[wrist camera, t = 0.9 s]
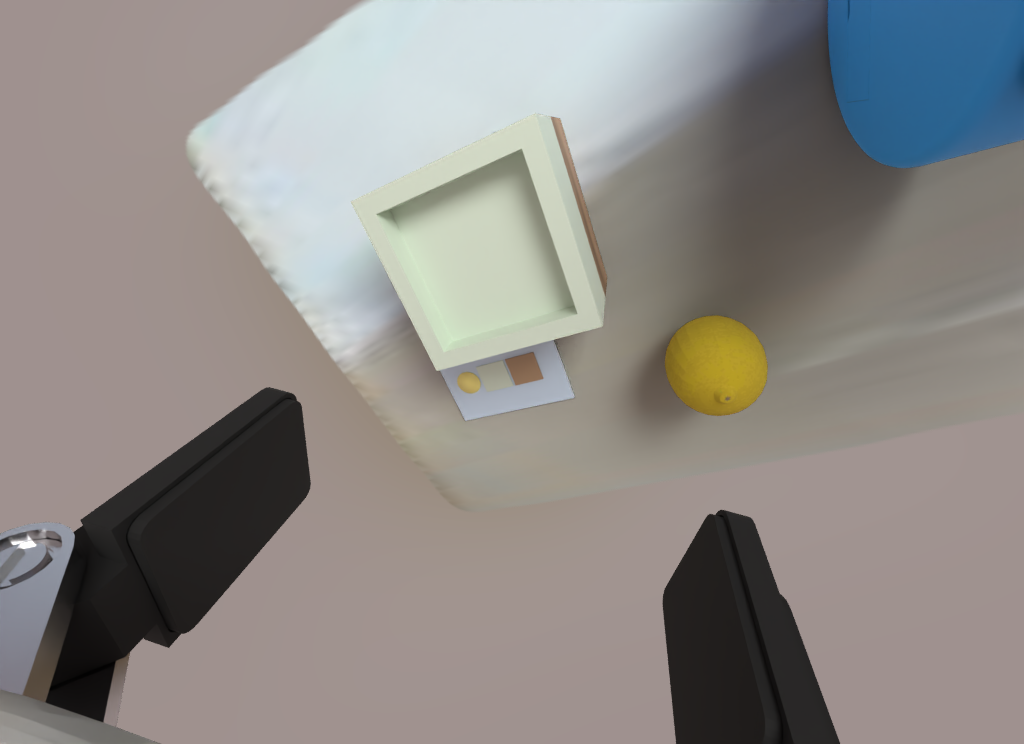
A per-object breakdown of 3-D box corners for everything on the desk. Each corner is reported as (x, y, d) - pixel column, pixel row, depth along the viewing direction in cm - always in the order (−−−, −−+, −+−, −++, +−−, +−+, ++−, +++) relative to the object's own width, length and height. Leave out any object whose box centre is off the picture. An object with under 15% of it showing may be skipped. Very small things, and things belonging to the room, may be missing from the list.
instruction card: (545, 317, 31) (545, 319, 31) (574, 396, 34) (574, 398, 34) (431, 350, 35) (429, 352, 35) (466, 419, 37) (464, 421, 37)
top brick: (550, 116, 22) (535, 113, 18) (605, 297, 25) (602, 326, 22) (391, 191, 25) (350, 201, 21) (460, 339, 29) (436, 370, 25)
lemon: (693, 385, 31) (714, 456, 24) (643, 334, 30) (650, 393, 23) (765, 339, 29) (810, 404, 22) (712, 281, 27) (742, 330, 21)
